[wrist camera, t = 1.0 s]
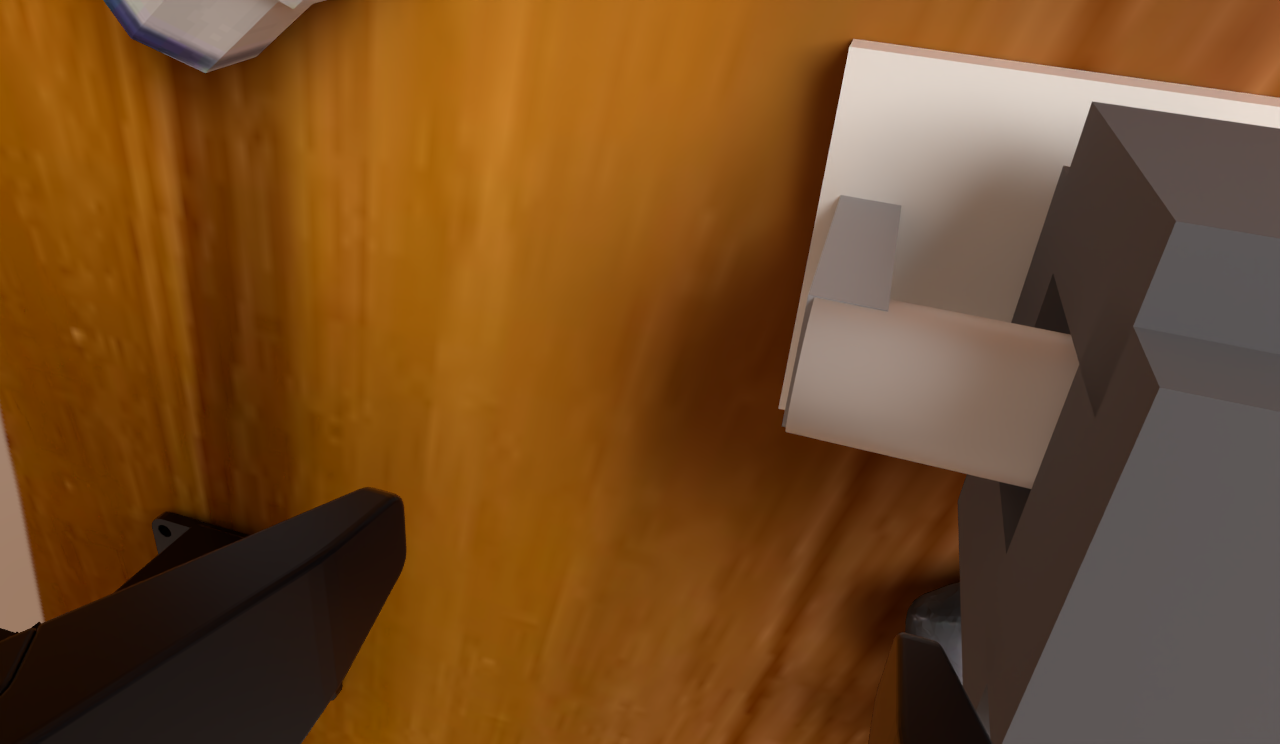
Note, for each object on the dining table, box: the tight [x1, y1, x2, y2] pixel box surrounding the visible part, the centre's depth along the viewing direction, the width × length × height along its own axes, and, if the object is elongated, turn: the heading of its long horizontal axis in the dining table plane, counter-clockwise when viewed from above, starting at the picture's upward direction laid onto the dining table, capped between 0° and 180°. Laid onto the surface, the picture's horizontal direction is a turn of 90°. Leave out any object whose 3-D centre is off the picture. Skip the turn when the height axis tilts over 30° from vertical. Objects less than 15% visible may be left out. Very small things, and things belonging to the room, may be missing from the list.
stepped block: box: [958, 101, 1280, 744], centre depth 13 cm, size 8×3×8 cm, turn 174°
